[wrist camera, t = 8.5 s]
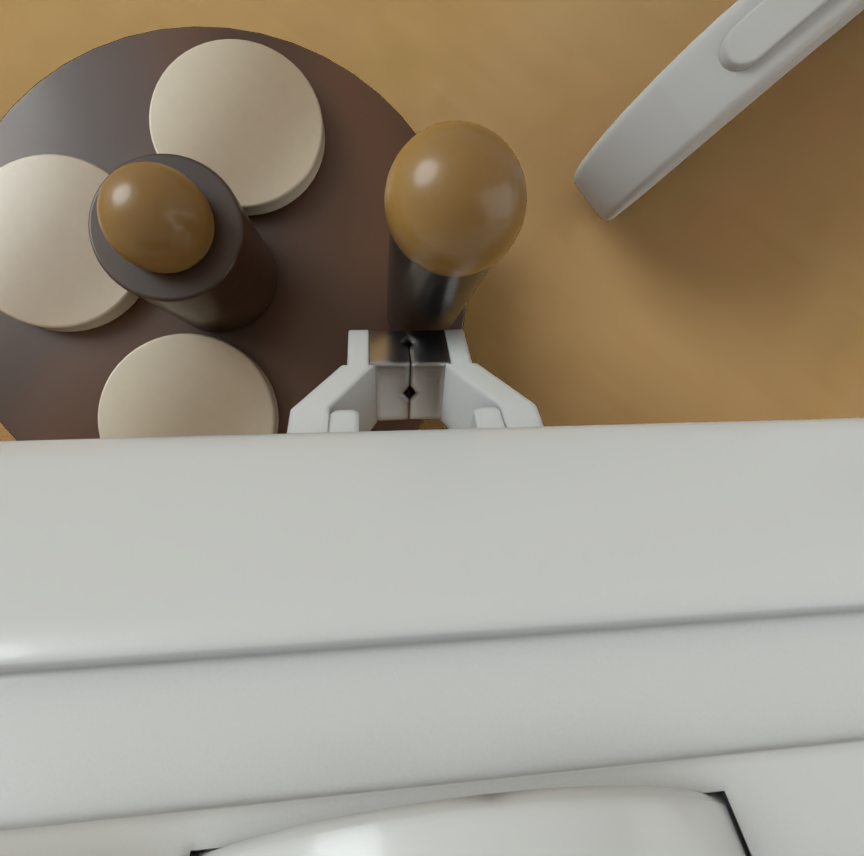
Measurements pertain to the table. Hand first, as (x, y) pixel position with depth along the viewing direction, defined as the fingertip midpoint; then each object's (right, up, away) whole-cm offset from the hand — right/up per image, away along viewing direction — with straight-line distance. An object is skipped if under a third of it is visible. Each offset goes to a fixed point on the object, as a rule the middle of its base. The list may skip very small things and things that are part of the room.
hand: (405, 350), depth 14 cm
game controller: (+13, +12, +8) cm, 20 cm away
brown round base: (-6, +3, +4) cm, 8 cm away
